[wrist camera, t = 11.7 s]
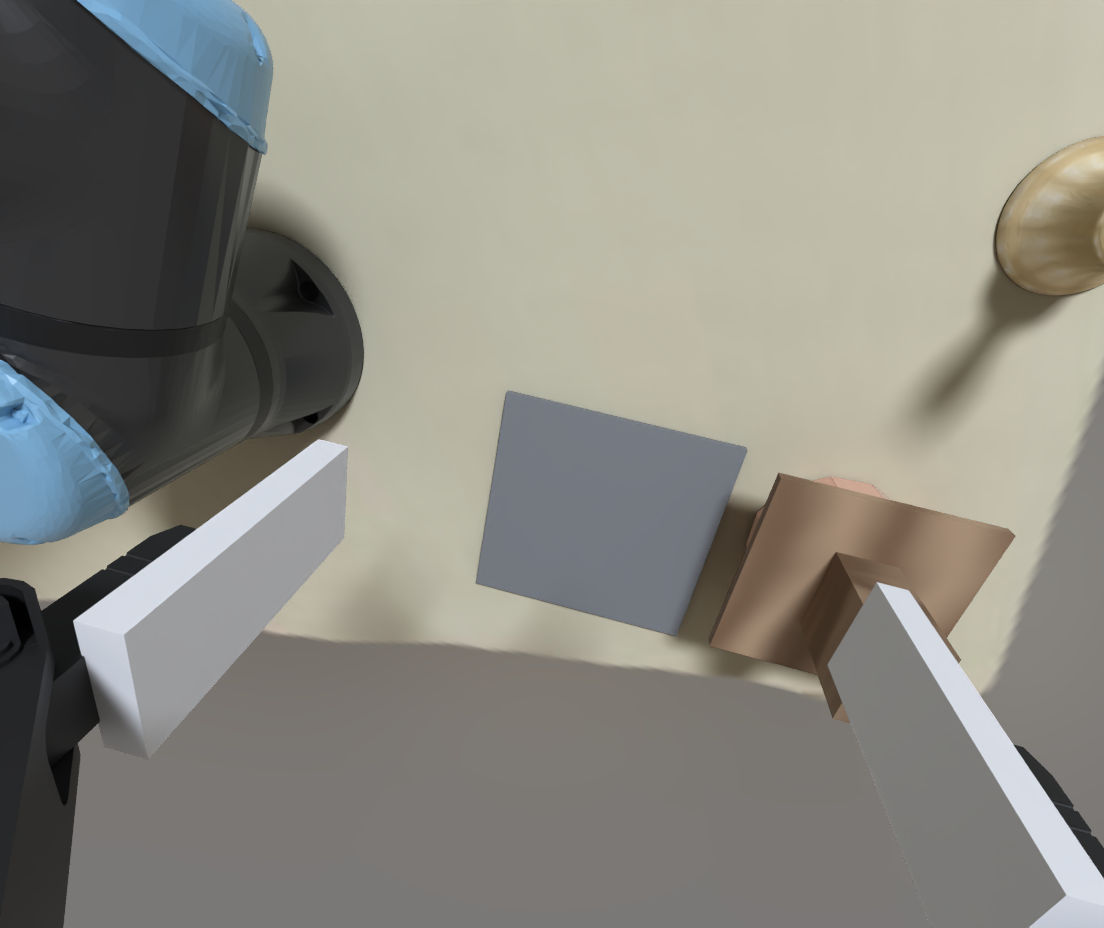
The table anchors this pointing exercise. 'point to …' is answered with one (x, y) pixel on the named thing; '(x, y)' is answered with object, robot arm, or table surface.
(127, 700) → the robot arm
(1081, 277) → the hand bell
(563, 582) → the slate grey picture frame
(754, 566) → the walnut lid
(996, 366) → the table surface
